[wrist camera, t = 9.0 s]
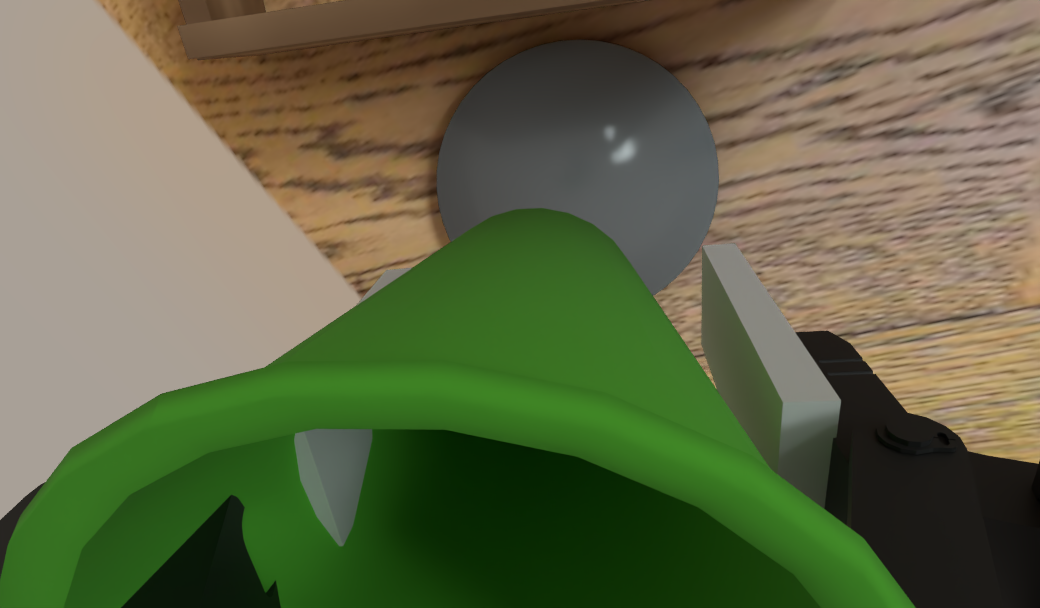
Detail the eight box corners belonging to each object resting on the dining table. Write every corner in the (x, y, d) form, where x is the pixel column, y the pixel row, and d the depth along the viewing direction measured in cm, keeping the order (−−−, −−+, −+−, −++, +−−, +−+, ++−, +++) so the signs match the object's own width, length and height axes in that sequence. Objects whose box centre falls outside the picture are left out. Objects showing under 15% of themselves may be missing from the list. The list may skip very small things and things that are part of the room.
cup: (467, 469, 18) (322, 989, 8) (309, 212, 15) (-223, 558, 5) (757, 382, 16) (1033, 971, 6) (639, 53, 13) (811, 141, 3)
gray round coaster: (417, 59, 24) (412, 60, 23) (717, 19, 22) (722, 19, 22) (464, 317, 29) (460, 325, 28) (713, 302, 27) (716, 310, 26)
